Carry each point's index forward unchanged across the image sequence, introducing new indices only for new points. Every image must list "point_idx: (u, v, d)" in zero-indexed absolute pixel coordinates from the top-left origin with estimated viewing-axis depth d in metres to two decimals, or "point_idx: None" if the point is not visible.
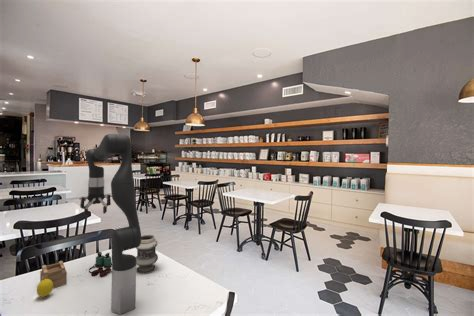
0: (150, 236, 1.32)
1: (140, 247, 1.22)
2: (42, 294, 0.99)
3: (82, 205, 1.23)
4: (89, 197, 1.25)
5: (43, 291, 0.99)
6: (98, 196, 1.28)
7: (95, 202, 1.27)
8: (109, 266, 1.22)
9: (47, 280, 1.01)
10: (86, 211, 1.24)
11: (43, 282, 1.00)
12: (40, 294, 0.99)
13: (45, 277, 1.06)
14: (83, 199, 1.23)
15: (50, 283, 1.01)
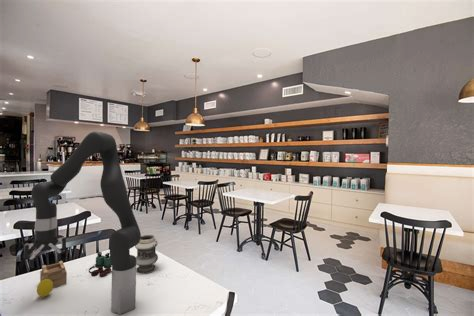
0: (150, 236, 1.32)
1: (140, 247, 1.22)
2: (42, 294, 0.99)
3: (25, 255, 0.96)
4: (35, 244, 0.98)
5: (43, 291, 0.99)
6: (48, 241, 1.01)
7: (44, 249, 1.00)
8: (109, 266, 1.22)
9: (47, 280, 1.01)
10: (31, 262, 0.97)
11: (43, 282, 1.00)
12: (40, 294, 0.99)
13: (45, 277, 1.06)
14: (27, 247, 0.96)
15: (50, 283, 1.01)
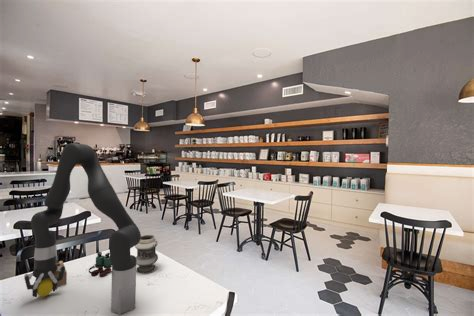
0: (150, 236, 1.32)
1: (140, 247, 1.22)
2: (42, 294, 0.99)
3: (28, 286, 0.97)
4: (35, 273, 0.98)
5: (43, 291, 0.99)
6: (48, 269, 1.01)
7: (45, 276, 1.01)
8: (109, 266, 1.22)
9: (47, 280, 1.01)
10: (34, 291, 0.98)
11: (43, 282, 1.00)
12: (40, 294, 0.99)
13: None
14: (27, 278, 0.96)
15: (50, 283, 1.01)
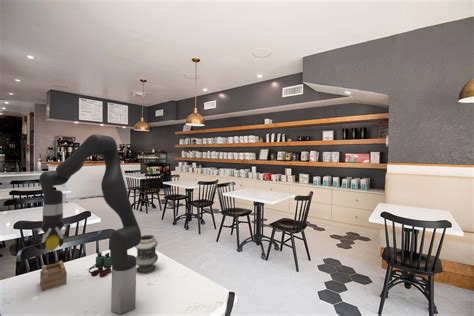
0: (150, 236, 1.32)
1: (140, 247, 1.22)
2: (50, 247, 1.08)
3: (37, 238, 1.05)
4: (43, 227, 1.07)
5: (51, 244, 1.08)
6: (55, 225, 1.10)
7: (52, 232, 1.09)
8: (109, 266, 1.22)
9: (54, 235, 1.10)
10: (43, 244, 1.07)
11: (51, 237, 1.09)
12: (48, 247, 1.08)
13: (45, 277, 1.06)
14: (36, 232, 1.05)
15: (57, 238, 1.10)
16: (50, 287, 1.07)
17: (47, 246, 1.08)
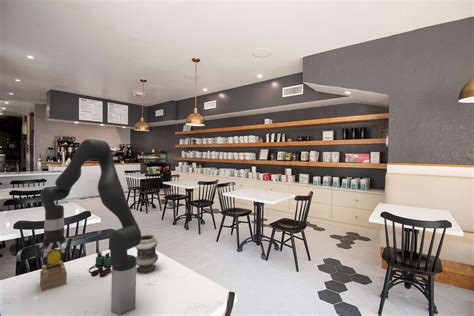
0: (150, 236, 1.32)
1: (140, 247, 1.22)
2: (51, 262, 1.09)
3: (38, 253, 1.06)
4: (45, 242, 1.08)
5: (52, 259, 1.09)
6: (56, 240, 1.11)
7: (54, 246, 1.10)
8: (109, 266, 1.22)
9: (56, 250, 1.11)
10: (44, 259, 1.08)
11: (52, 251, 1.10)
12: (49, 262, 1.09)
13: (45, 277, 1.06)
14: (37, 247, 1.06)
15: (58, 252, 1.11)
16: (50, 287, 1.07)
17: (49, 261, 1.09)
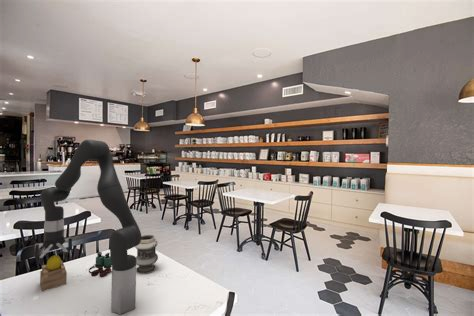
0: (150, 236, 1.32)
1: (140, 247, 1.22)
2: (51, 268, 1.09)
3: (36, 254, 1.06)
4: (45, 243, 1.08)
5: (52, 265, 1.09)
6: (56, 241, 1.11)
7: (52, 248, 1.10)
8: (109, 266, 1.22)
9: (56, 256, 1.11)
10: (41, 260, 1.07)
11: (53, 258, 1.10)
12: (49, 268, 1.09)
13: (45, 277, 1.06)
14: (37, 247, 1.06)
15: (59, 259, 1.11)
16: (50, 287, 1.07)
17: (49, 267, 1.08)
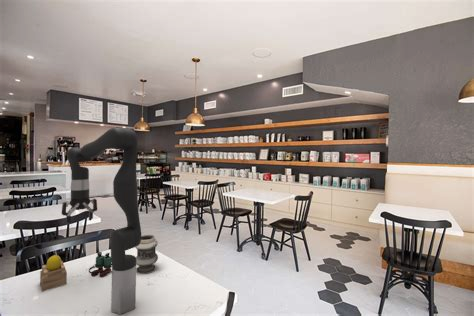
0: (150, 236, 1.32)
1: (140, 247, 1.22)
2: (51, 268, 1.09)
3: (64, 211, 1.07)
4: (72, 202, 1.10)
5: (52, 265, 1.09)
6: (82, 201, 1.13)
7: (79, 208, 1.12)
8: (109, 266, 1.22)
9: (56, 256, 1.11)
10: (68, 218, 1.09)
11: (53, 258, 1.10)
12: (49, 268, 1.09)
13: (45, 277, 1.06)
14: (65, 204, 1.07)
15: (59, 259, 1.11)
16: (50, 287, 1.07)
17: (49, 267, 1.08)
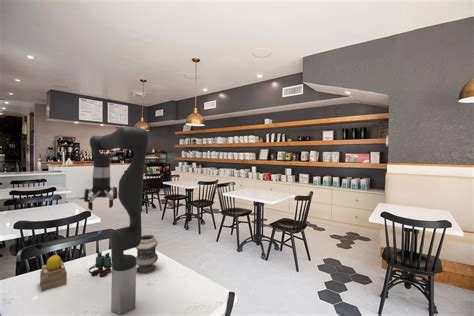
0: (150, 236, 1.32)
1: (140, 247, 1.22)
2: (51, 268, 1.09)
3: (86, 198, 1.09)
4: (94, 189, 1.12)
5: (52, 265, 1.09)
6: (104, 188, 1.14)
7: (100, 195, 1.14)
8: (109, 266, 1.22)
9: (56, 256, 1.11)
10: (90, 205, 1.11)
11: (53, 258, 1.10)
12: (49, 268, 1.09)
13: (45, 277, 1.06)
14: (87, 191, 1.09)
15: (59, 259, 1.11)
16: (50, 287, 1.07)
17: (49, 267, 1.08)
